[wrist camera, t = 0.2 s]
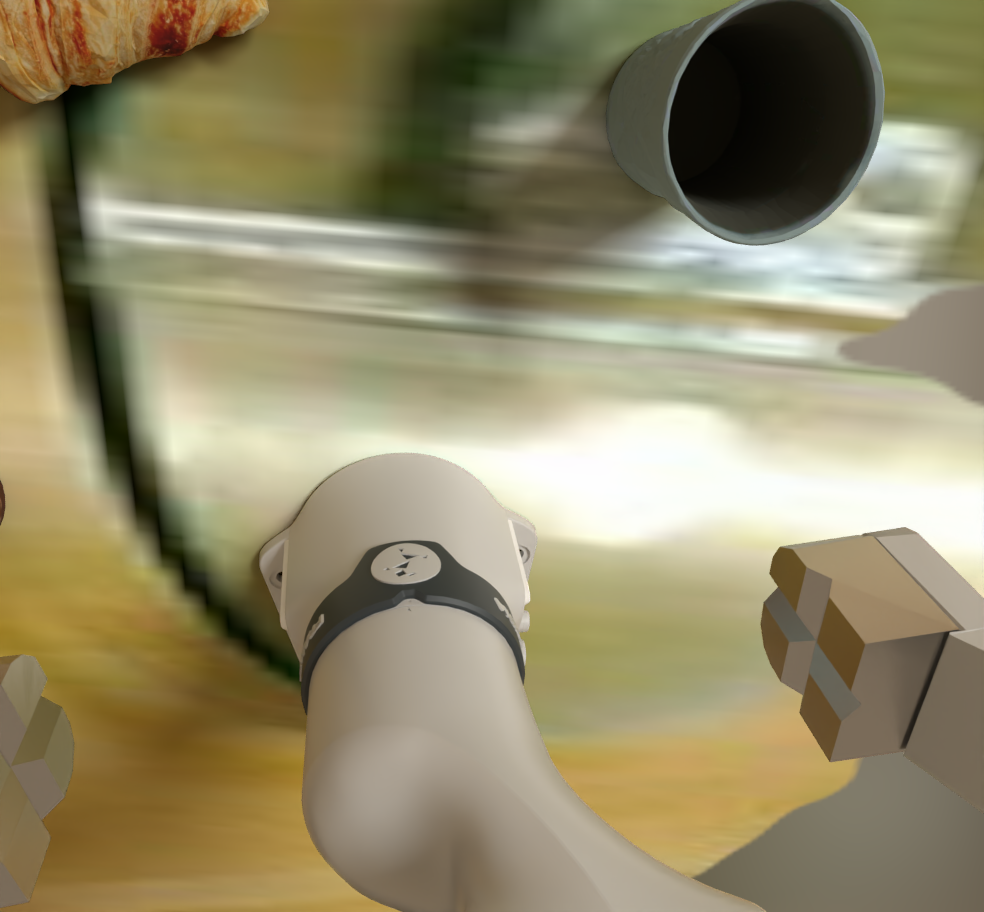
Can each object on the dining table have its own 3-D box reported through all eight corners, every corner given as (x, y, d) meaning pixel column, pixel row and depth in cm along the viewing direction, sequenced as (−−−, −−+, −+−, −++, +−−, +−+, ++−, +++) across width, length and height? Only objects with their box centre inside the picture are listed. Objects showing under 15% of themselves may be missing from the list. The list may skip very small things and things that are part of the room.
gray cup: (721, 222, 47) (827, 266, 37) (565, 182, 45) (631, 218, 34) (786, 38, 43) (927, 28, 33) (619, -17, 41) (712, -46, 30)
